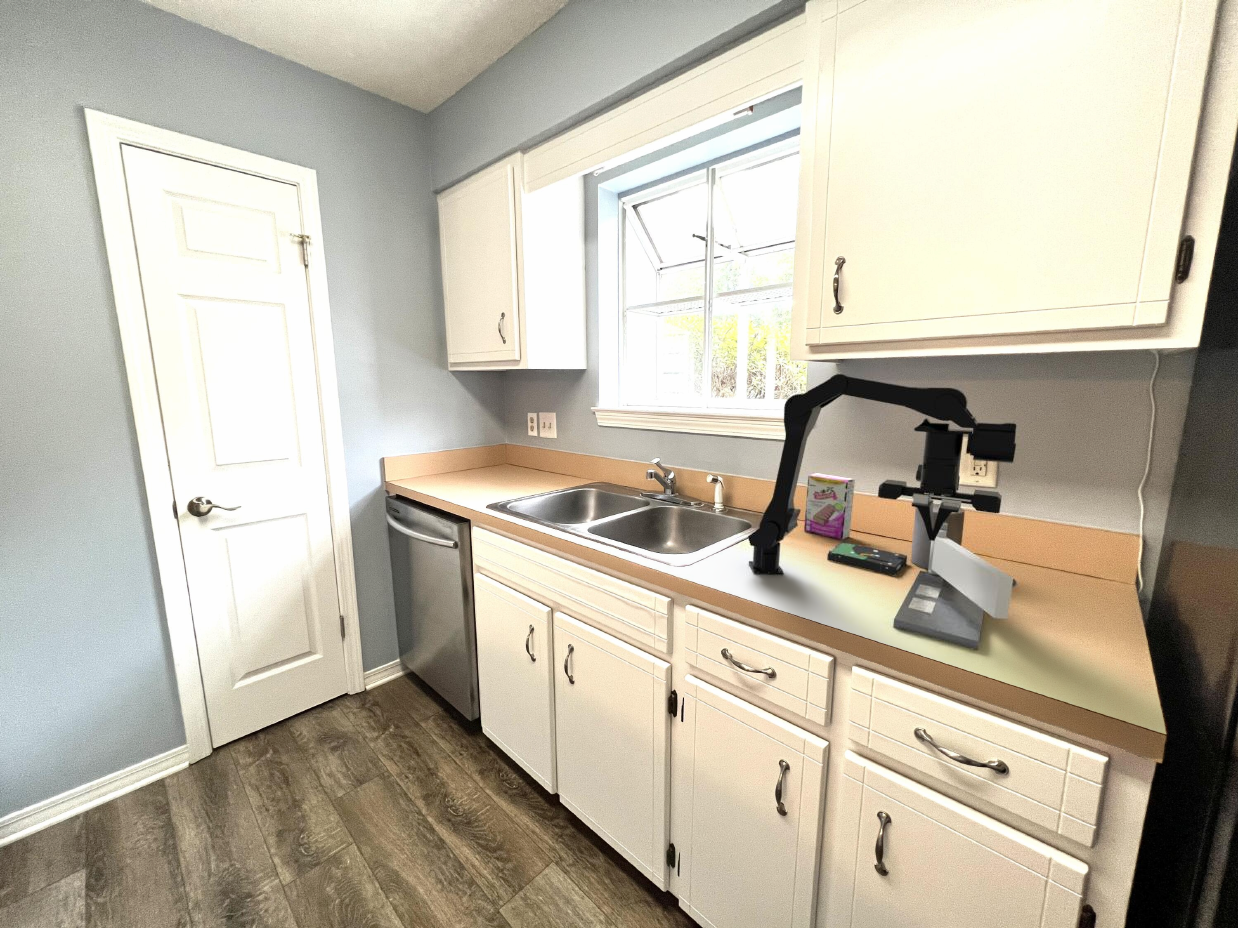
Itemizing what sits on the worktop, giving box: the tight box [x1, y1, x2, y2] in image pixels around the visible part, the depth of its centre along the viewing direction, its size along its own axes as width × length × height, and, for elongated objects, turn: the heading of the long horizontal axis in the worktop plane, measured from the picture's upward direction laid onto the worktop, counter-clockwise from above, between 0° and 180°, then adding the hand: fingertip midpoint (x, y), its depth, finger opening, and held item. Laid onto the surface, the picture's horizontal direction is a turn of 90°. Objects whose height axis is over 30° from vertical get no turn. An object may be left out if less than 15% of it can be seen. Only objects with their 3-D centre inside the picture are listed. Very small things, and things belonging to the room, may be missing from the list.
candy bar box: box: [803, 473, 856, 541], centre depth 138 cm, size 11×5×16 cm, turn 43°
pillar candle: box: [910, 501, 966, 570], centre depth 116 cm, size 10×10×15 cm
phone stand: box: [892, 523, 985, 651], centre depth 94 cm, size 12×29×13 cm, turn 142°
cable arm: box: [927, 530, 1017, 620], centre depth 93 cm, size 24×4×9 cm, turn 172°
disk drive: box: [826, 541, 908, 577], centre depth 118 cm, size 10×3×15 cm
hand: (932, 540), depth 93 cm, fingers closed
